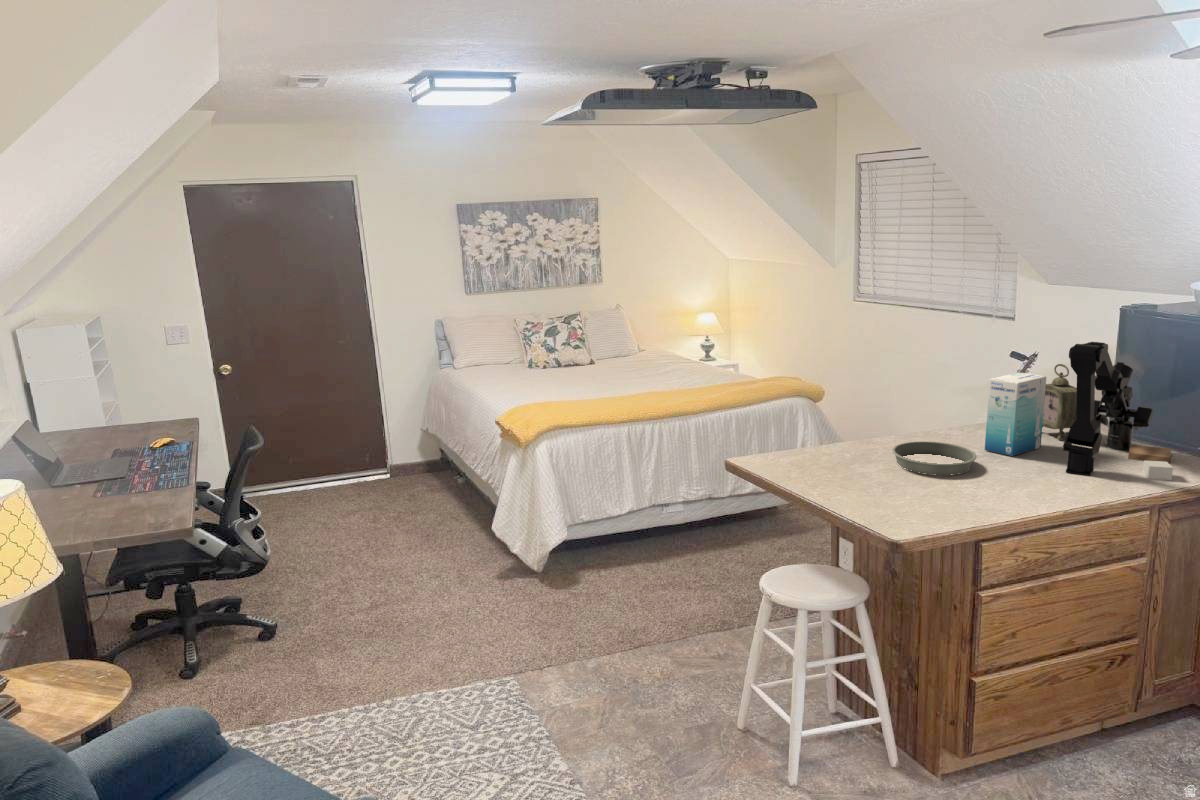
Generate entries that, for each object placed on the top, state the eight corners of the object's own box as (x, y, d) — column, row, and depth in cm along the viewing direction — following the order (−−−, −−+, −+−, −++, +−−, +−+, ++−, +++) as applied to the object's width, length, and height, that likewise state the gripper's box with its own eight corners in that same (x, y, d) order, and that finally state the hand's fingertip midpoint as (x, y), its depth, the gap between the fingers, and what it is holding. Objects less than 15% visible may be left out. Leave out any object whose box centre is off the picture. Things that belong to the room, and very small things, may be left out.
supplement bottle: (1106, 449, 290) (1110, 413, 288) (1106, 443, 296) (1109, 408, 294) (1131, 451, 287) (1135, 415, 285) (1130, 446, 293) (1134, 410, 290)
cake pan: (891, 474, 270) (892, 460, 269) (891, 452, 293) (891, 439, 292) (979, 480, 263) (980, 466, 262) (971, 457, 286) (972, 443, 285)
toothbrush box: (1012, 441, 302) (1018, 370, 296) (1042, 447, 294) (1048, 375, 288) (982, 450, 292) (988, 378, 286) (1012, 457, 284) (1018, 383, 278)
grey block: (1148, 479, 261) (1149, 466, 260) (1142, 473, 266) (1143, 460, 266) (1171, 480, 259) (1173, 467, 258) (1165, 474, 265) (1166, 461, 264)
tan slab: (1128, 458, 280) (1128, 452, 279) (1130, 450, 289) (1131, 444, 288) (1169, 463, 274) (1170, 457, 273) (1170, 454, 283) (1171, 448, 282)
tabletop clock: (1030, 431, 313) (1037, 361, 307) (1053, 429, 315) (1060, 359, 309) (1058, 442, 299) (1065, 369, 293) (1082, 440, 301) (1090, 367, 295)
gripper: (1155, 383, 277) (1161, 411, 287) (1090, 375, 290) (1098, 402, 300) (1144, 412, 274) (1151, 440, 284) (1079, 403, 287) (1088, 429, 297)
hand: (1122, 427), depth 291 cm, fingers open, 8 cm apart
